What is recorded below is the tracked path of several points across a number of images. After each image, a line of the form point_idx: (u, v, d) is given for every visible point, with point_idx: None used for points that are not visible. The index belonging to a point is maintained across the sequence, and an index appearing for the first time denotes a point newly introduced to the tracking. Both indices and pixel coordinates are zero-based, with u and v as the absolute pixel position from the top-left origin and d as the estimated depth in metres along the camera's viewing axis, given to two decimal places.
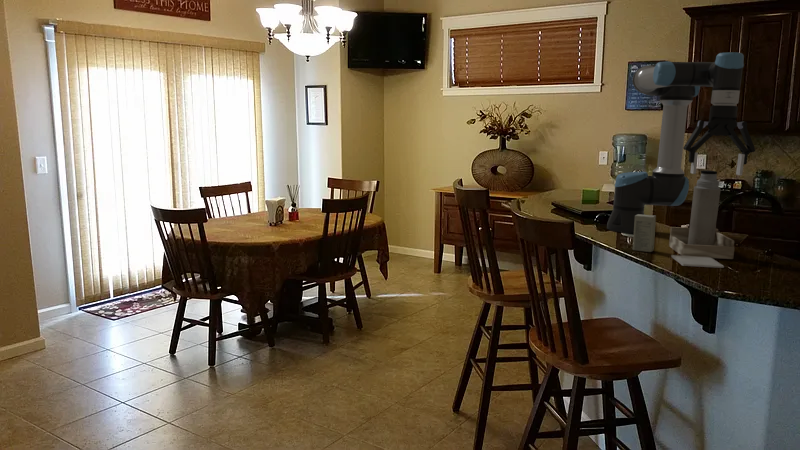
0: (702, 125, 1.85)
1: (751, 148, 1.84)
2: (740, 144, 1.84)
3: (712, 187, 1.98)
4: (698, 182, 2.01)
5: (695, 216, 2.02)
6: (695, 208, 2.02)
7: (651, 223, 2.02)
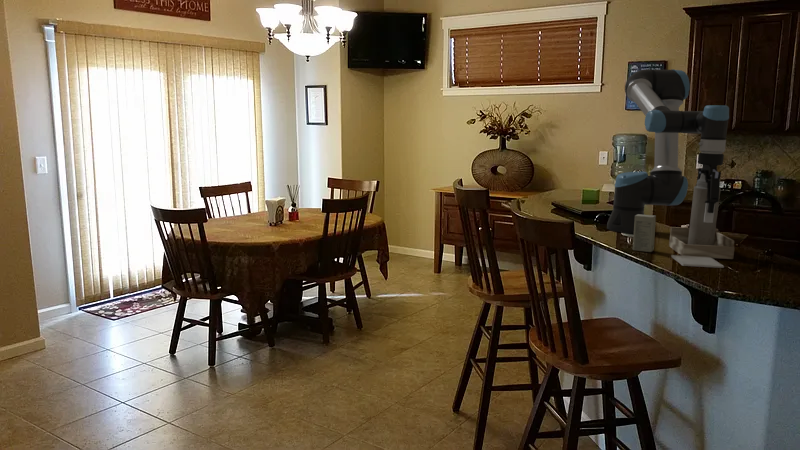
0: (698, 172, 2.07)
1: (710, 197, 1.96)
2: (707, 192, 1.98)
3: None
4: (698, 182, 2.01)
5: (695, 216, 2.02)
6: (695, 208, 2.02)
7: (651, 223, 2.02)
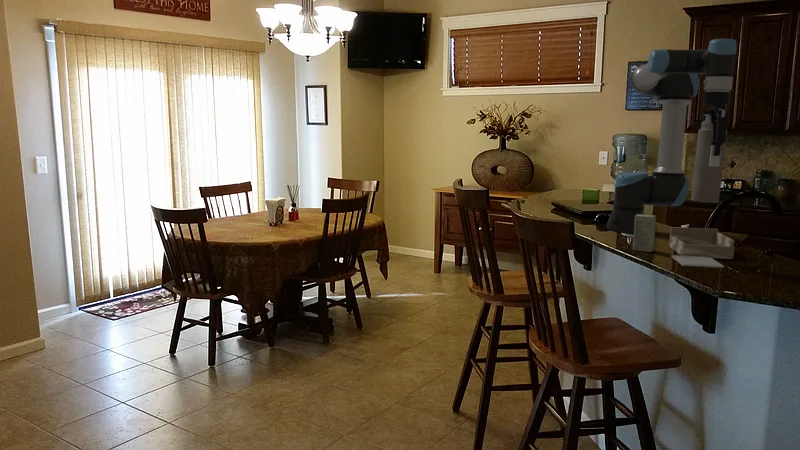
0: (703, 114, 1.92)
1: (716, 138, 1.82)
2: (713, 133, 1.84)
3: None
4: (703, 124, 1.87)
5: (700, 160, 1.88)
6: (699, 152, 1.88)
7: (651, 223, 2.02)
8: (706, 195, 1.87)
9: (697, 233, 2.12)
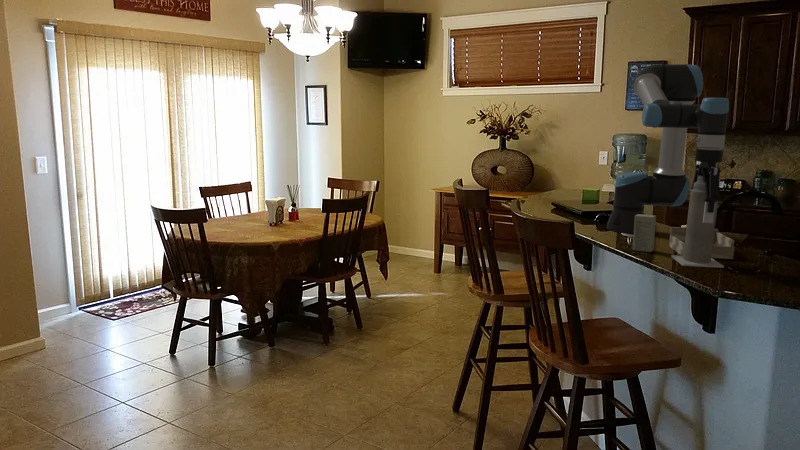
0: (696, 168, 1.92)
1: (709, 196, 1.80)
2: (706, 190, 1.83)
3: None
4: (695, 185, 1.87)
5: (692, 221, 1.88)
6: (691, 213, 1.88)
7: (651, 223, 2.02)
8: (698, 256, 1.88)
9: None
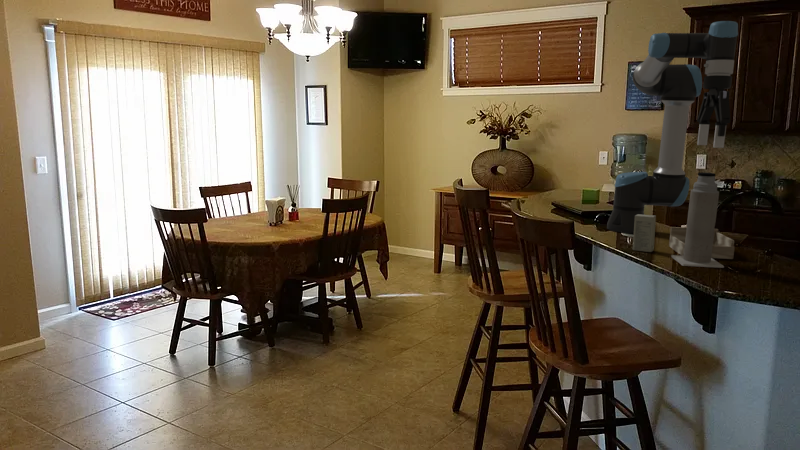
0: (704, 97, 1.88)
1: (720, 119, 1.75)
2: (716, 115, 1.78)
3: (710, 190, 1.84)
4: (695, 185, 1.87)
5: (692, 221, 1.88)
6: (691, 213, 1.88)
7: (651, 223, 2.02)
8: (698, 256, 1.88)
9: None
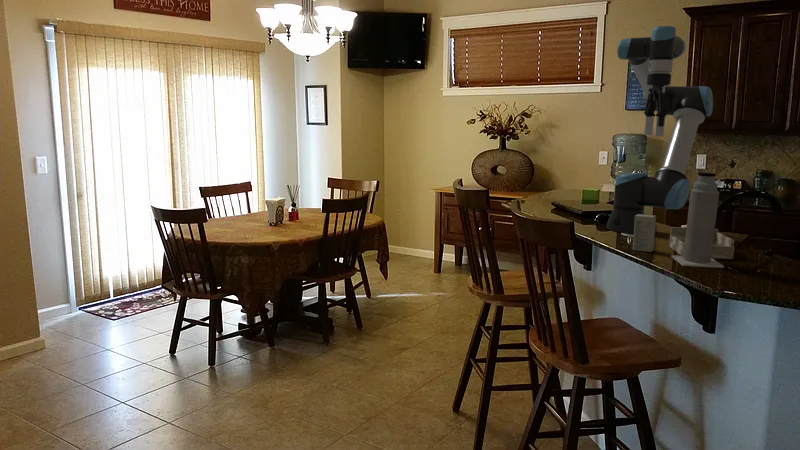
0: (649, 92, 2.14)
1: (659, 111, 2.01)
2: (657, 107, 2.04)
3: (710, 190, 1.84)
4: (695, 185, 1.87)
5: (692, 221, 1.88)
6: (691, 213, 1.88)
7: (651, 223, 2.02)
8: (698, 256, 1.88)
9: None
